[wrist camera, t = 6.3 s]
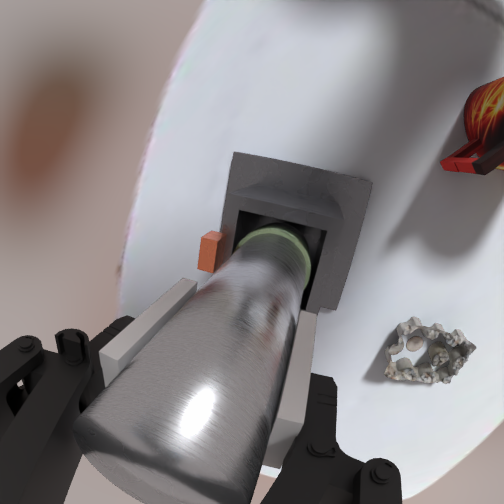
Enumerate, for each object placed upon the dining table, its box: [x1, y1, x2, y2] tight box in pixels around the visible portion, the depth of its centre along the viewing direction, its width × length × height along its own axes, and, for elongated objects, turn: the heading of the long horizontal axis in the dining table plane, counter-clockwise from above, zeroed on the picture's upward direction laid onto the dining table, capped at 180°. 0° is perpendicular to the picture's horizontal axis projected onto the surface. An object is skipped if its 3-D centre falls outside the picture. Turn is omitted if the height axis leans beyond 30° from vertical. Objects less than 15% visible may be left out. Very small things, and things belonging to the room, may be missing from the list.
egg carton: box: [384, 317, 476, 384], centre depth 30 cm, size 11×8×4 cm
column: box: [73, 222, 311, 504], centre depth 15 cm, size 6×6×20 cm
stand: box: [197, 152, 372, 320], centre depth 26 cm, size 14×14×12 cm
